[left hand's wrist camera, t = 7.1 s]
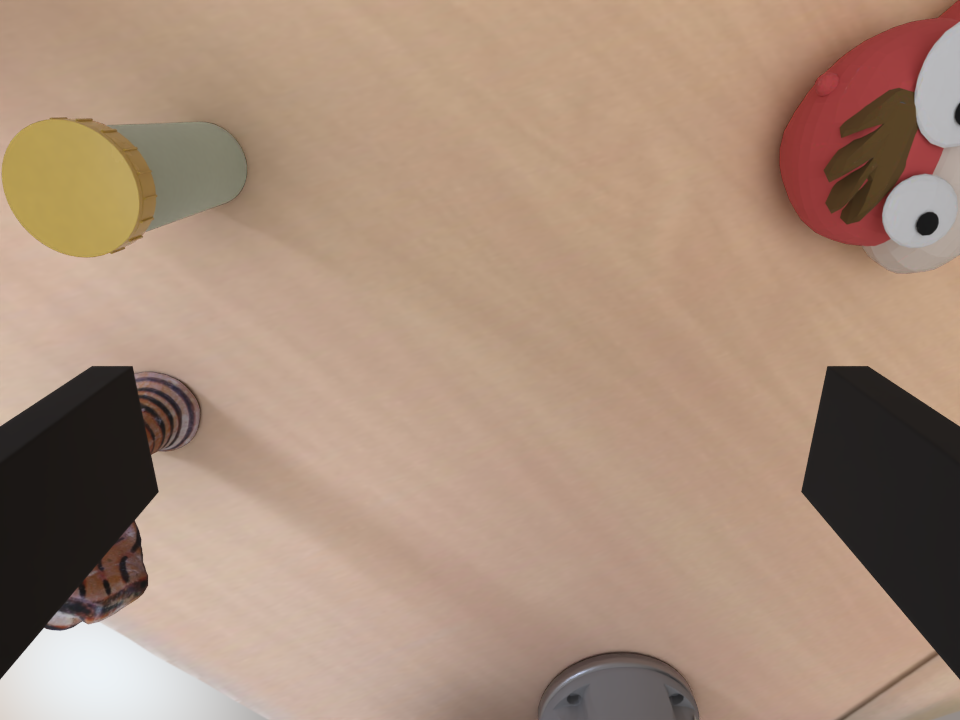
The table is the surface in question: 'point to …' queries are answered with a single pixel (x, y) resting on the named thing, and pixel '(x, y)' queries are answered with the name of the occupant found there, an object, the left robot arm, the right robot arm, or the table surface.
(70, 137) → the lid
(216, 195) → the jar
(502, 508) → the table surface
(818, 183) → the toy
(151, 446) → the figurine
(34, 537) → the left robot arm
